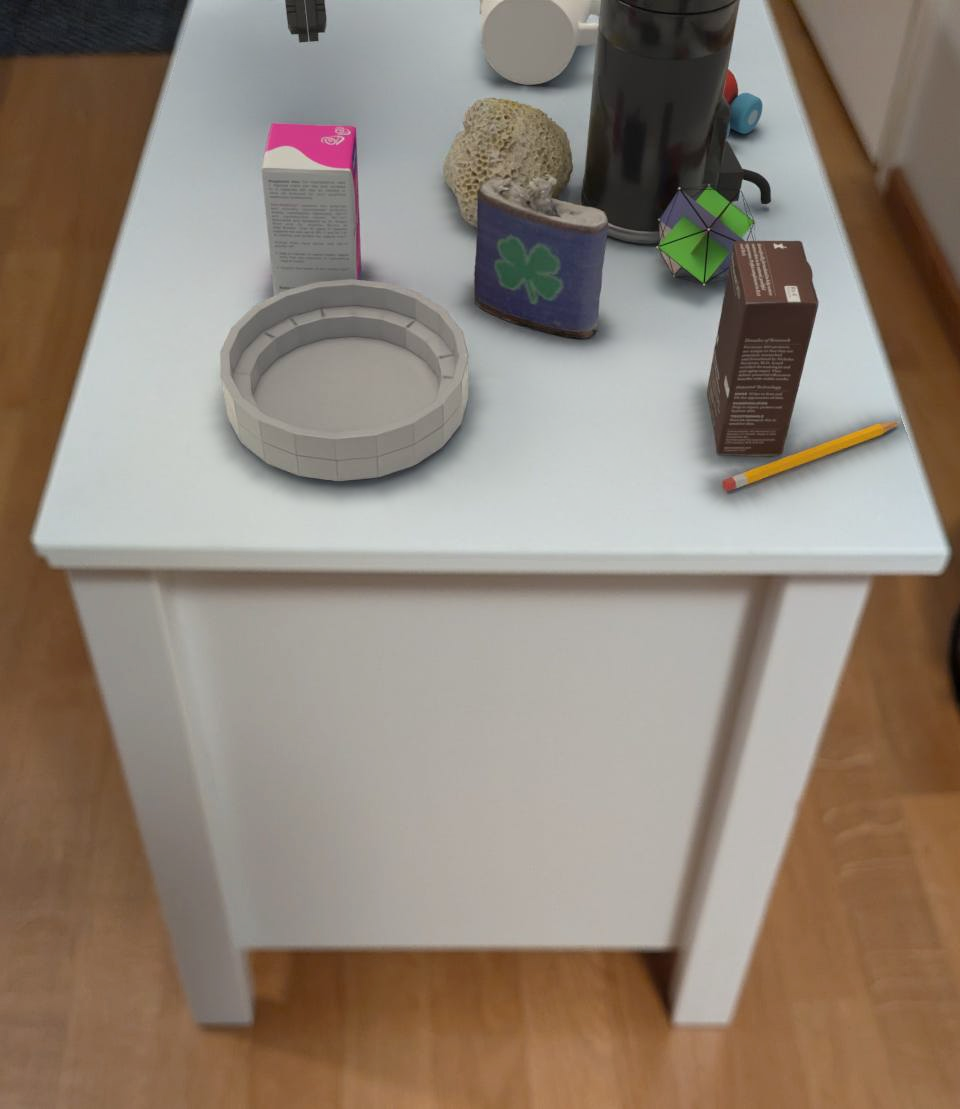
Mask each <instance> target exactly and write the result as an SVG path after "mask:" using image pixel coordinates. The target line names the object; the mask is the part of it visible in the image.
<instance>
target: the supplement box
mask: <svg viewBox="0 0 960 1109" xmlns="http://www.w3.org/2000/svg"><path fill="white" fill-rule="evenodd" d="M260 171H261V178H262V188H263V190H262V191H263V198H264V206H265V207H264V210H265V222H266V230H267V239H268V250H269V259H270V269H271V279H272V289H273V290H272V291H273V296H275V295H276V294H278V293H280V292H283V291H286V290H290V289H293V288H297V287H300V286H304V285H308V284H311V283H315V282H322V281H335V280H348V279H353V280H354V279H356V280H361V275H362V274H361V273H362V249H361V248H362V247H361V246H362V245H361V224H360V223H361V220H360V219H361V218H360V196H359V195H360V194H359V171H358V142H357V127H356V126H354V125H338V124H337V125H333V124H330V125H329V124H305V123H303V124H301V123H284V122H283V123H280V122H272V123H271V124H270V126H269V130H268V133H267V139H266V142H265V149H264V154H263V158H262V163H261V170H260Z"/></svg>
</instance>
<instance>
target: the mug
mask: <svg viewBox="0 0 960 1109" xmlns="http://www.w3.org/2000/svg"><path fill="white" fill-rule="evenodd" d="M599 11H600V0H479V15H480V18H481V19H480V20H481V21H480V23H481V28H480V30H481V31H480V33H481V34H480V35H481V48H482V51H483V54H484V56H485V58H486V61H487V62H488V63H489V66H490V67H492V69H493V70H494V71H495V72H496V73H497V74H498V75H500V76H501V77H503V78H504V79H506V80H507V81H510V82H513V83H516V84H520V85H525V86H533V85H540V84H543V83H546V82H549V81H551V80H553V79H555V78H556V77H558V76H559V75H560V74H561V73H563V72H564V70H565V69H566V68H567V67H568V65H569V64H570V62H571V60H572V58H573V56H574V53H575V51H576V49H577V47H578V46H579V47H580V46H583V47H585V46H587V47H589V46H596V44H597V33H598V22H587V21H588V19H589V16H590V15H592V16H596V17H599Z"/></svg>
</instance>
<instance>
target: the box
mask: <svg viewBox="0 0 960 1109" xmlns="http://www.w3.org/2000/svg"><path fill="white" fill-rule="evenodd" d="M803 243H804V242H802V241H801V240H756V241H755V240H754V241H753V240H744V241H735V242H733V248H732V254H731V260H730V266H729V271H728V274H727V277H726V279H727V280H726V283H725V288H724V295H723V298H722V299H723V300H722V304H721V311H720V317H719V321H718V322H719V323H718V327H717V328H718V329H717V334H716V338H715V344H714V348H713V355H712V359H711V360H712V361H711V366H710V372H709V377H708V383H707V390H706V396H707V401H708V406H709V411H710V417H711V421H712V426H713V433H714V441H715V448H716V453H717V454H718V455H722V456H723V455H725V456H751V457H752V456H754V457H755V456H757V457H766V456H768V457H771V456H782V455H783V453H784V448H785V444H786V440H787V438H788V434H789V433H788V432H789V428H790V424H791V420H792V417H793V412H794V408H795V407H794V406H795V404H796V400H797V397H798V392H799V387H800V383H801V379H802V375H803V372H804V367H805V364H806V363H805V362H806V357H807V354H808V350H809V347H810V342H811V339H812V335H813V329H814V326H815V323H816V322H815V321H816V317H817V313H818V309H819V304H820V301H819V298H818V295H817V291H816V289H815V285H814V282H813V277H814V274H813V269H812V267H811V265H810V263H809V261H808V260H807V255H806V251H805V248H804V244H803Z"/></svg>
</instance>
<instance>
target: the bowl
mask: <svg viewBox="0 0 960 1109" xmlns="http://www.w3.org/2000/svg"><path fill="white" fill-rule="evenodd" d="M219 360H220V361H219V364H220V367H219V368H220V381H221V386H222V392H223V397H224V403H225V404H224V405H225V409H226V414H227V415H226V416H227V420H228V422H229V423H230V425H231V427H232V429H233V430H234V432H235V434H236V436H237V438H238V440H239V442H240V443H241V445H243V446H244V447H246V448H247V449H248V450H250V451H251V452H252V453H253V454H254V455H256V456H257V457H258V458H259V459H261V460H262V461H263V462H264V463H266V464H267V465H269V466H273V467H275V468H278V469H280V470H283V471H285V472H287V473H290V474H292V475H295V476H298V477H304V478H310V479H318V480H326V481H334V482H344V481H345V482H346V481H355V480H366V479H377V478H382V477H384V476H387V475H390V474H394V473H396V472H399V471H402V470H405V469H408V468H412V467H414V466H416V465H417V464H419V463H421V462H423V460H426V459H427V458H428V457H430V456H431V455H433V454H434V453H436V452H437V451H439V450H441V449H442V448H443V447H445V445H446V444H447V442H448V441H449V440H450V439H451V437H452V436H453V435H454V433H456V431H457V430H458V429H459V427H460V426H461V425H462V422H463V419H464V415H465V411H466V407H467V404H468V400H469V352H468V348H467V343H466V339H465V334H464V331H463V330H462V329H461V327H460V326H459V325H458V323H457V322H456V321H455V319H454V318H453V317H452V316H451V314H450V313H449V311H448V310H446V309H445V308H443V307H442V306H440V305H439V304H437V303H436V302H434V301H433V300H431V299H430V298H428V297H427V296H425V295H423V294H421V293H419V292H417V291H413V290H410V289H407V288H404V287H401V286H399V285H396V284H392V283H389V282H382V281H381V282H380V281H373V280H372V281H371V280H365V279H360V280H356V279H354V280H353V279H348V280H335V281H322V282H315V283H311V284H308V285H304V286H300V287H297V288H293V289H290V290H286V291H283V292H280V293H278V294H276V295H275V296H274V295H273V296H270V297H269V298H267V299H265V300H263V301H262V302H259V303H258V304H256V305H254V306H253V307H251V309H249V310H248V311H247V312H246V313H245V314H244V315H243V316H242V317H241V318H240V319H239V320H238V321H236V322H235V324H233V325H232V327H231V328H230V329H229V332H228V334H227V336H226V338H225V341H224V343H223V345H222V347H221V349H220V351H219Z"/></svg>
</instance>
